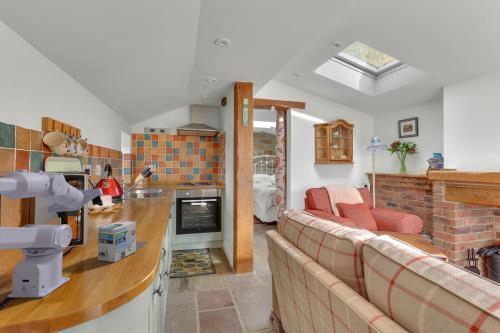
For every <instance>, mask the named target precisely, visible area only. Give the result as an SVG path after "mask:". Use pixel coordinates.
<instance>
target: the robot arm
mask: <svg viewBox="0 0 500 333" xmlns="http://www.w3.org/2000/svg"><path fill="white" fill-rule="evenodd" d="M0 195H2V196H3V197H5V198H7V199H11V200H12V199H13V200H15V199H25V198H26V199H27V198H35V197H40V196H41V197H42V198H45V199H47V200H48V201H51V202H53V204H51V205H49V206H47V207H46V208H47V209H46V210H47V213H48V214H49V215H52V216H53V215H54V214H57V217H58V218H59V219H62V218H65V217H78V216H79V211H78V210H80V209H81V208H83V207H84V206H86V205H88V203H89V202H92V206H96V205H97V206H99V207H103V206H104V202H103V200H102V198H101V197H102V196H104V193H103V189H102V188H101V187H92V188H89V189H78V188H76V187H74V186H73V185H71V184H69V182H67V181H66V178H65V176H64V174H63V173H57V172H43V170H34V171H29V172H28V170H27V169H15V171H12V172H8V173H6V174H5V175H3V176H2V177H0ZM72 237H73V231H72V228H71V226H70V225H69V224H66V223H65V224H32V223H28V224H25V225H23V226H21V227H18V226H17V227H15V226H14V227H12V226H0V251H4V250H5V251H6V250H7V251H8V250H17V249H18V250H20V251H21V254H22V255H25V256H24V257H23V258H22V259H21V260H19V262H17V263H16V264H15V265H14V267H13V269H12V280H11V282H12V284H11V293H10V294H8V295H7V298H44V297H46V296H48V295H49V294H51V293H52V292H53V291H55V290H57V289H58V288H59V287H61V286H63V285H64V284H65V283H67V282H68V281H70V278H71V277H63V255H64V254H63V252H64V250H65V249H66V248H67V247H68V245H70V243H71V240H72Z"/></svg>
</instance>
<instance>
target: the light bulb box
mask: <svg viewBox="0 0 500 333" xmlns="http://www.w3.org/2000/svg"><path fill="white" fill-rule="evenodd" d="M97 235H98V237H97V238H98V239H97V240H98V243H97V246H98V247H97V248H98V250H97V256H98V257H97V260H98V261H102V262H110V263H117V262H118V261H120V260H122V259H124V258H126V257H128V256H130V255H132V254H133V253H134V252H135V253H136V252H137V251H136V242H137V221H128V220H121V219H120V220H118V221H115V222H112V223H109V224H107V225H103V226H101V227H98V234H97Z"/></svg>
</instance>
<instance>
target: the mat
mask: <svg viewBox="0 0 500 333" xmlns="http://www.w3.org/2000/svg"><path fill="white" fill-rule="evenodd" d="M146 244H147V241H136V252H138V251H139V249H141V248H142V247H143V246H144V245H146ZM136 252H134V253H136Z"/></svg>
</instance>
